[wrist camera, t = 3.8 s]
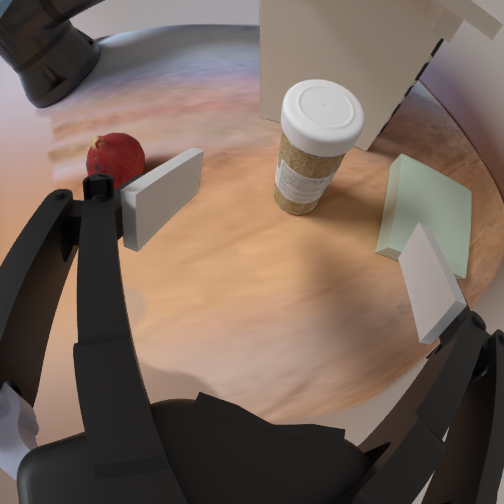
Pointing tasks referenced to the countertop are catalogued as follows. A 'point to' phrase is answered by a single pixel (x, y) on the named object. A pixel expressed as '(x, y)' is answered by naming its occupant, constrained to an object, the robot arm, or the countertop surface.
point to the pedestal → (426, 212)
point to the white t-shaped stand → (357, 48)
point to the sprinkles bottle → (314, 141)
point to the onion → (116, 157)
